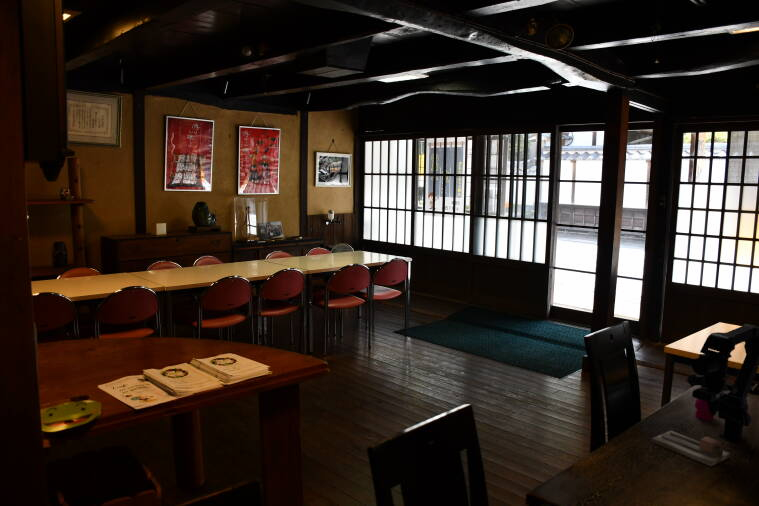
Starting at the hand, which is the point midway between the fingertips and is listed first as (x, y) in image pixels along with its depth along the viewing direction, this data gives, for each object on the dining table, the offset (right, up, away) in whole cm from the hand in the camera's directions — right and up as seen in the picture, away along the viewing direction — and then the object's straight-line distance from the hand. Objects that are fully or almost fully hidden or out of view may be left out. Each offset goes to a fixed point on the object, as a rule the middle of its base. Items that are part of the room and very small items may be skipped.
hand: (712, 415), depth 201 cm
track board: (-9, -11, -2) cm, 14 cm away
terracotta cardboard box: (-5, -10, -7) cm, 14 cm away
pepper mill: (+12, -8, +26) cm, 30 cm away
